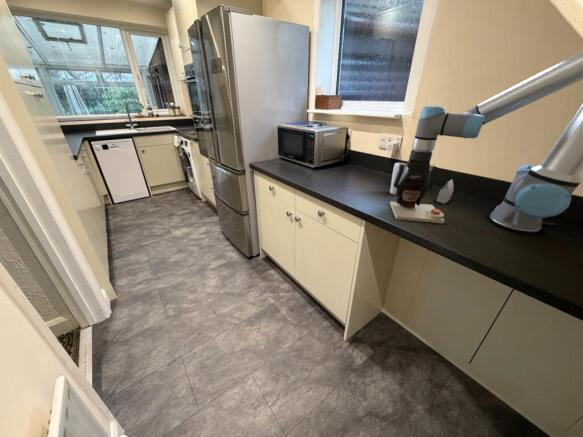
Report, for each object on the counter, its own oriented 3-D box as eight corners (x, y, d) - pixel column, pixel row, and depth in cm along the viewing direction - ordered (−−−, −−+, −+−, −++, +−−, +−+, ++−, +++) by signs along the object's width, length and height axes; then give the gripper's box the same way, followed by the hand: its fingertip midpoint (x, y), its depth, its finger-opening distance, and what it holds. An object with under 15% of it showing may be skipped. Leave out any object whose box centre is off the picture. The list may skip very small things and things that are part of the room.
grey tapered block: (436, 201, 111) (442, 181, 106) (441, 197, 115) (448, 178, 110) (444, 203, 109) (451, 183, 104) (449, 200, 113) (456, 180, 108)
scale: (431, 207, 105) (433, 201, 104) (443, 223, 92) (446, 216, 91) (389, 204, 108) (391, 198, 107) (396, 219, 95) (397, 212, 94)
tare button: (437, 212, 95) (439, 208, 94) (440, 215, 92) (441, 212, 92) (429, 211, 95) (431, 208, 95) (432, 214, 93) (433, 211, 92)
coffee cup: (420, 211, 97) (429, 181, 91) (399, 209, 99) (406, 180, 92) (414, 202, 105) (422, 174, 99) (395, 201, 106) (402, 173, 100)
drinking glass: (402, 196, 116) (410, 167, 109) (388, 194, 118) (394, 165, 111) (401, 191, 122) (408, 163, 114) (387, 190, 123) (394, 162, 116)
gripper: (446, 149, 92) (429, 202, 103) (393, 146, 95) (382, 198, 106) (454, 153, 85) (435, 209, 96) (396, 150, 89) (384, 205, 100)
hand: (407, 203), depth 101 cm, fingers closed on coffee cup, 7 cm apart
